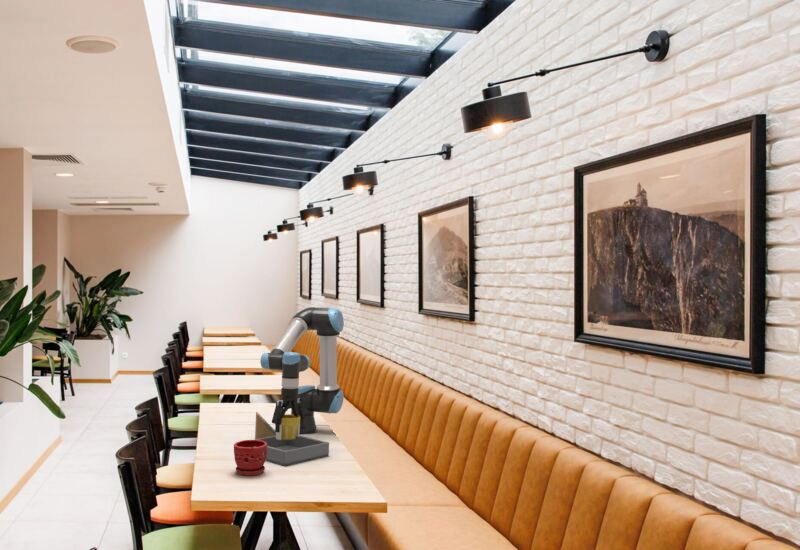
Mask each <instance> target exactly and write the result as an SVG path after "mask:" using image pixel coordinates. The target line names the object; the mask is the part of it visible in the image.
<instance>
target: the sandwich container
mask: <svg viewBox="0 0 800 550" xmlns="http://www.w3.org/2000/svg"><path fill="white" fill-rule="evenodd" d="M254 426H255V427H254V428H255V430H254V432H255V433H254V440H255V439H260V438H266V437H271V436H276V432H275V428H273V427H272V426H271V424H269V423H268V422H267V420H266V419H265V418H263V416H262V415H261V414H260V413H259V412H258V411H256V412H255V425H254Z"/></svg>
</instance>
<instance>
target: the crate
mask: <svg viewBox="0 0 800 550" xmlns="http://www.w3.org/2000/svg"><path fill="white" fill-rule="evenodd" d="M254 440H261V441H265V442H266V443H267V456H266V461H265V462H268V461H269V463H271V462H272V464H274V465H275V464H276V465H278V466H283V467H289V466H291V465H297V464H300V463H304V462H309V461H315V460H318V458H319V459H323V458H327V457H329V455H330V453H329V452H330V442H328V441H325V440H324V441H323V440H320V439H316V438H311V437H307V436H303V435H299V436H296V438H295V439H291V440H285V439H281V440H278V439H276V436H271V437H266V438H260V439H255V438H254ZM254 447H256V446H254ZM248 448H250V447H248ZM263 456H264V452H263ZM322 457H323V458H322Z"/></svg>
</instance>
